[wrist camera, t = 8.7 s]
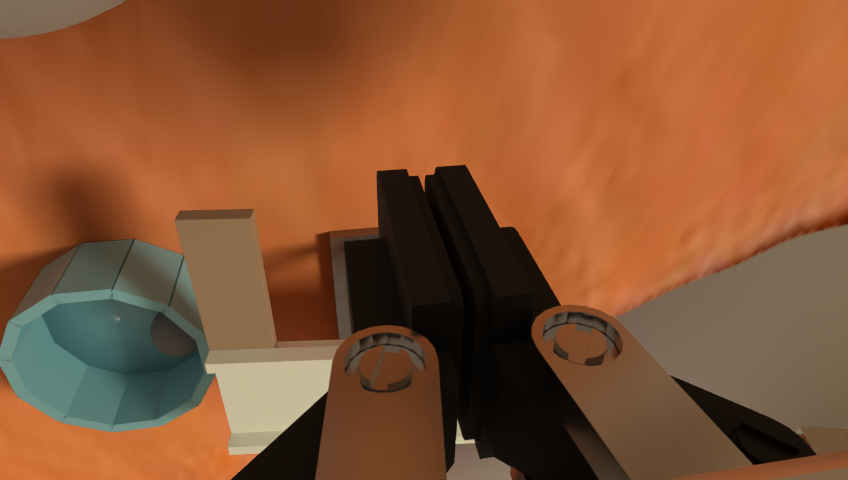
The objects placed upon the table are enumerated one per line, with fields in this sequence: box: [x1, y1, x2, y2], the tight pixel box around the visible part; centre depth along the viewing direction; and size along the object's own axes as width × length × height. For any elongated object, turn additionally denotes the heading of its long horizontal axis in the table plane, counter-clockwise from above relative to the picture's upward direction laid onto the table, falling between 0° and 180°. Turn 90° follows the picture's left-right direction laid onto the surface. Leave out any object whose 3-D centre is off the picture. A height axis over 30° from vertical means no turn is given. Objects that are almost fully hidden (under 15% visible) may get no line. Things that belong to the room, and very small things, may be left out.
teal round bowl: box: [0, 239, 216, 432], centre depth 43 cm, size 14×14×6 cm
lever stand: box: [329, 228, 379, 340], centre depth 44 cm, size 6×12×12 cm, turn 0°
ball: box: [150, 312, 198, 357], centre depth 44 cm, size 4×4×4 cm
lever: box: [175, 209, 475, 455], centre depth 37 cm, size 22×18×3 cm
